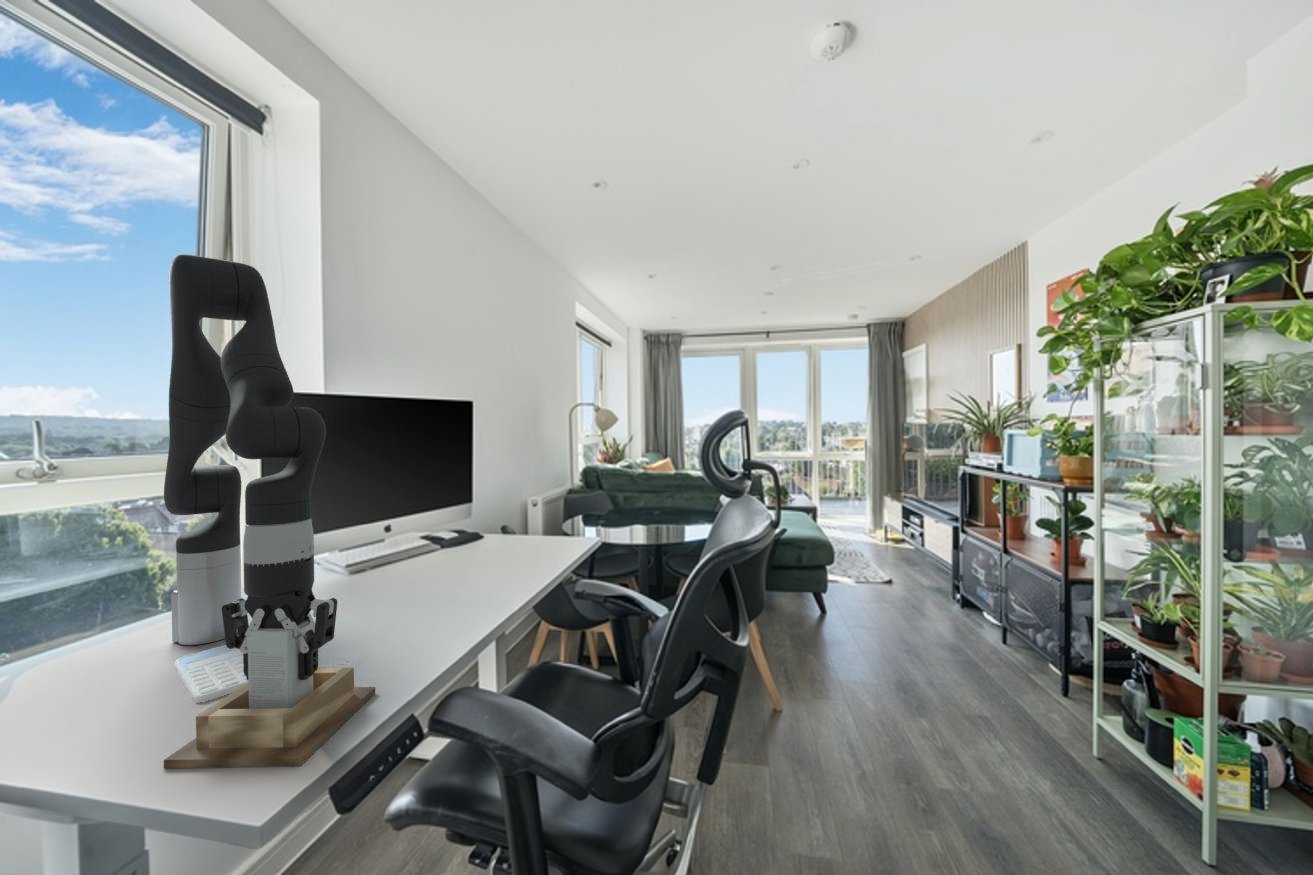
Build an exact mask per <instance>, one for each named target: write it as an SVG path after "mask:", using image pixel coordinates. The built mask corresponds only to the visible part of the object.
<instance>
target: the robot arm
mask: <svg viewBox="0 0 1313 875" xmlns="http://www.w3.org/2000/svg"><path fill="white" fill-rule="evenodd" d="M266 287H267V286H266V284H265V281H264V278H263V277H262V275H261V273H260V272H259V271H258V269H257V268H255V267H254V266H252V265H249V264H245V263H241V262H239V261H238V262H236V261H230V260H225V259H219V258H212V257H207V256H201V255H195V254H193V255H192V254H188V253H187V254H186V253H185V254H184V253H183V254H182V253H181V254H180V253H179V254H177V255H176V256H174V258H173V259H172V261H171V263H170V267H169V275H168V289H169V290H168V291H169V292H168V293H169V309H170V323H171V324H170V325H171V345H172V346H171V359H170V360H171V361H170V362H171V363H170V376H169V386H168V425H169V427H168V429H169V433H168V435H169V436H168V437H169V443H168V444H169V445H168V454H167V461H166V462H167V463H166V469H165V476H164V483H163V484H164V485H163V486H164V487H163V501H164V505H165V508H166V509H167V511H168V512H169V513H170V514H172V515H175V516H192V515H201V514H202V515H203V514H212V513H218V514H217V516H216V518H215V519H213V520H212V521H210V522H208V523H207V524H205V525H203V526H201V527H198V528H196V529H194V530H191V531H188V532H185V533H183V534H181V535H180V536H178V537H177V538H176V541H175V554H176V555H175V557H176V558H175V559H176V564H175V565H176V589H175V590H173V591H172V592H171V636H172V637H171V642H173V643H178V644H179V645H182V646H193V645H202V644H203V645H204V644H208V643H212V642H217V641H220V640H221V641H222V640H224V639H225V645H226V646H227V647H228V648H229V649H233V648H237V649H240V651H241V652H242V653H243V664H244V665H243V667H244V668H243V671H244V674H245V676H246V679H247V680H248V637H251V631H252V630H253V631H257V630H259V629H260V628H284V629H285V630H292V637H293V639H295V640H296V644H297V646H298V648H299V650H300V651H301V652H300V653H299V654H298V660H299V680H306V679H308V678H309V677H310V676H312V675H313V674H314V672H315V671H316V670H317V669H318V668H319V649H321V648H322V647H324V645H327V643H329V642H331V641H333V639H335V638H334V637H335V629H336V619H337V610H338V599H337V598H336V597H331V598H329V599H327V600H326V599H319V598H318V599H316V597H315V595H314V592H313V586H314V583H315V542H314V541H315V536H314V535H315V533H314V528H313V523H312V488H313V483H314V478H315V473H316V470H317V466H318V463H319V459H320V457H321V454H322V451H323V448H324V445H325V441H326V438H327V437H326V436H327V428H326V427H327V426H326V424H325V423H326V422H325V419H323V417H322V416H321V414H320V413H319V412H318V411H317V410H315V409H314V408H311V407H307V406H306V407H305V406H289V405H290V403H292V401H293V399H294V393H295V392H294V388H293V385H292V384H293V383H292V382H291V379H290V377H289V374H288V371H287V370H286V367H285V365H284V362H283V361H282V357H281V354H280V351H279V349H278V344H277V338H276V331H275V327H274V320H273V315H272V310H271V304H270V300H269V295H268V291H267V288H266ZM203 318H205V319H215V320H224V321H237V322H239V321H240V322H241V321H242V322H243V321H244V322H245V323H244V324H243V325H242V327H241V328H240V329H239V331H237V333H235V334H234V335H233V336H232V338H230V339H229V341H227V343H226V345H224V347H223V350H222V353H221V356H220V355H219V353H218V352H217V351H216V350H215V349H214V348H213V346H212V345H211V343H210V342H209V340H208V339H207V337H206V335H205V333H204V332H203V330H202V328H201V323H200V322H201V319H203ZM224 436H225V440H226V441H225V442H226V445H227V446H228V448H229V450H231V451H232V453H234V454H235V455H237V456H238V457H240V458H242V459H246V460H266V459H267V460H268V459H269V460H270V459H272V460H273V459H276V460H277V459H289V460H288V463H287V464H286V466H285V467H284V468H283V470H281V471H279V472H277V473H275V474H271V475H266V476H262V477H258V478H255V479H253V480H250V481H249V482H248V483H247V484H246V486H245V491H244V492H245V493H244V499H245V500H244V502H245V503H244V506H245V507H244V509H245V511H244V513H245V514H244V516H245V518H244V519H245V529H244V535H243V542H242V544H243V545H242V546H243V547H242V548H243V551H242V552H243V554H242V555H243V592H244V593H243V594H245V595H246V596H247V598H246V599H245V598H243V597H242V565H241V564H242V561H241V560H242V559H241V519H240V518H241V502H242V477H241V472H240V471H239V469H238V467H237V466H235V465H232V464H224V465H223V464H217V465H215V464H214V465H199V466H198V465H196V463H197V461H198V460H199V458H200V457H201V456H202V455H203V454H204V453H205V452H206V451H207V450H208V449H210V447H212V446H213V445H214V444H216V442H218V441H219V440H221V439H222V438H223V437H224ZM311 611H313V613H312V615H311V613H310V612H311ZM248 615H249V616H250V617H251V619H252V620H251V621H250V623H249V617H248ZM312 616H313V617H314V618H315V619H314V618H313V617H312ZM303 621H309V624H308V625H307V626H305V627H303V628H301V629H299V628H298V627H297V625H299V624H301V623H302V622H303ZM306 632H307V638H308V639H307V638H306V636H305V633H306Z"/></svg>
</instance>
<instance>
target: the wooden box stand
mask: <svg viewBox="0 0 1313 875" xmlns="http://www.w3.org/2000/svg"><path fill="white" fill-rule="evenodd" d="M374 695H376V686H355V668H354V667H318V669H317V670H316V671H315V672H314V674H313V692H312V693H310V694H309V695H308V696H307V697H305V698H304V699H303V700H301V701H300V702H299V703H298V704H296V705H295V706H294V707H293V708H270V709H249V688H248V684H246V685H245V686H243V687H241V688H240V689H238V690H237V691H235V692H234V693H232V694H229V695H226V696H225V697H224V698H223V699H221V700H220V701H218V702H216V703H215V704H213V705H212V706H210V707H208V708H206V709H205V710H204V711H202V712H200V713H199V714H198V715H196V716H195V735H196V736H195V738H194V739H192V740H190V741H189V742H188V743H187V744H185V745H184V746H181V748H179V749H178V750H176V751H175V752H173V753H171V754H170V755H169V756H168V757H166V758H165V759H163V769H196V768H198V769H202V768H203V769H204V768H206V769H207V768H210V769H211V768H213V769H214V768H259V767H260V768H263V767H264V768H265V767H268V768H269V767H301V766H302V765H303V764H305V762H306V761H308V760H309V758H311V756H313V755H314V754H315V753H316V752H317V751H318V750H319V749H320V748H321V747H322V746H323V745H324V744H325V743H326V742H327V741H329V739H330V738H331V737H332V736H334V735H335V734H336V732H338V730H340V729H341V727H342V726H344V725H345V723H347V722H348V721H349V720H350V719H351V718H352V717H353V716H354V715H355V714H356V713H357V712H358V711H359V710H360V709H361V708H362V707H363V706H364V705H366V704H367V702H368V701H370V700H371V698H372V697H373V696H374Z"/></svg>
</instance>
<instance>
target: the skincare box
mask: <svg viewBox="0 0 1313 875" xmlns="http://www.w3.org/2000/svg"><path fill="white" fill-rule="evenodd" d="M308 624H309V621H303V622H302V623H301V624H299V625H297V627H298V628H299V629H301V628H303V627H305V626H307V625H308ZM305 636H306V638H307V632H306V633H305ZM307 639H308V638H307ZM300 652H301V651H300V650H299V648H298V646H297V644H296V640H295V639H293V637H292V630H285V629H284V628H260V629H259V630H257V631H253V630H252V631H251V637H248V688H249V709H270V708H293V707H294V706H295V705H296V704H298V703H299V702H300V701H301V700H303V699H304V698H305V697H307V696H308V695H309V694H310V693H312V692H313V675H312V676H310V677H309V678H308V679H306V680H299V660H298V654H299V653H300Z"/></svg>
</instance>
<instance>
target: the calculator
mask: <svg viewBox="0 0 1313 875" xmlns="http://www.w3.org/2000/svg"><path fill="white" fill-rule="evenodd" d="M243 665H244V664H243V653H242V652H241V651H240V649H237V648H233V649H229V648H228V647H227V646H226V644H225V645H221V646H218V647H217V646H216V647H213V648H209V649H206V650H203V651H198V652H195V653H191V654H186V655H183V656H181V657H178V658H177V659H176V660H175V662H174V667H175V670H176V672H177V674H178V675H179V677H180V680H181V681H182V682H183V685H184V686H185V688H186V690H187V692H188V694H189V695H190V697H191V699H192V698H193V699H192V701H193V700H194V701H193V702H194V703H195V702H196V703H195V704H198V703H197V702H203V703H206V702H205V701H207V702H209V701H208V700H210V701H212V700H211V699H214V698H217V699H219V698H218V697H220V698H222V697H221V696H223V697H225V696H224V695H226V696H228V695H227V694H229V695H230V694H231V693H234V692H235V691H237V690H238V689H240V688H241V687H243V686H245V685H246V684H248V680H247V679H246V676H245V674H244V671H243V668H244V667H243ZM214 700H215V699H214Z"/></svg>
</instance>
